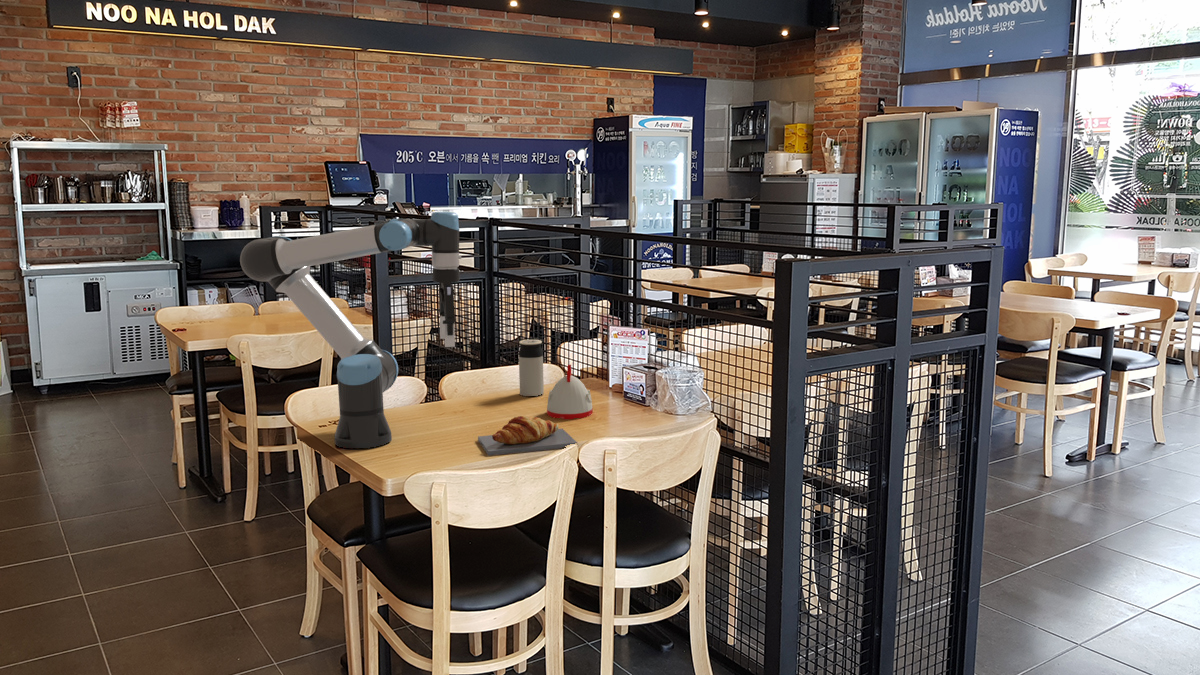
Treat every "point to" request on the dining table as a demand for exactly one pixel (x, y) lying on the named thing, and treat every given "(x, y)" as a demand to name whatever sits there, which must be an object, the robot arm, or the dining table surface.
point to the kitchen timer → (569, 398)
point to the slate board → (526, 444)
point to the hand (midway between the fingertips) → (447, 342)
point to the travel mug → (531, 368)
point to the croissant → (525, 430)
